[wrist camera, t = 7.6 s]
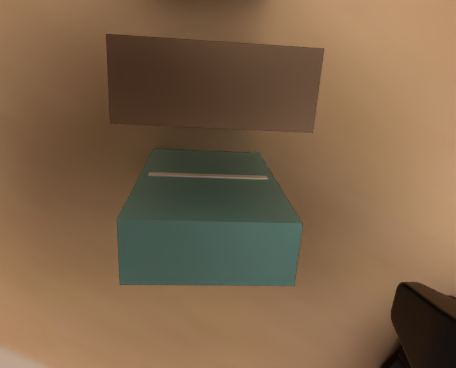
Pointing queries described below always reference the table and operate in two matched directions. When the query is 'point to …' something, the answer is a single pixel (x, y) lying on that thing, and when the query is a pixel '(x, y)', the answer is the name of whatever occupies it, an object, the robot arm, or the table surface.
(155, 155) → the domino
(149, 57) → the domino
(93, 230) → the table surface
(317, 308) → the table surface
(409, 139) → the table surface
